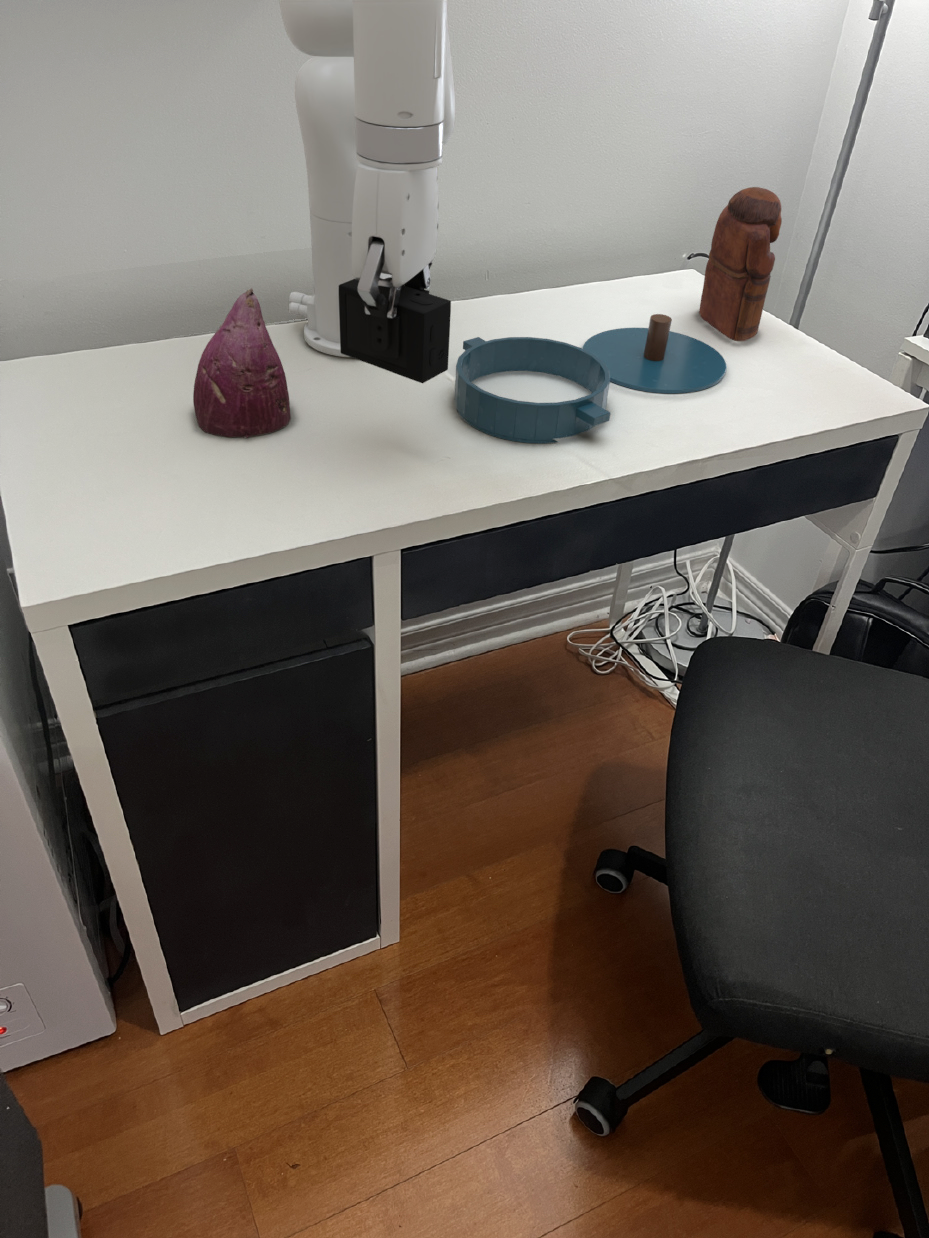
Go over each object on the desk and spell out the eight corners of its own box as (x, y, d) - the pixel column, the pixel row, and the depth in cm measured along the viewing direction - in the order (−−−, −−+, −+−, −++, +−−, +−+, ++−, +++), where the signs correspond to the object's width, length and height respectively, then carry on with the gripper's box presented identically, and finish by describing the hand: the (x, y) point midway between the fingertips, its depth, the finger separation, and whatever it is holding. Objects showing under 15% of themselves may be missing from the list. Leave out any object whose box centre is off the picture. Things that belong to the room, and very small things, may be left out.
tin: (537, 470, 98) (542, 431, 95) (411, 386, 111) (412, 349, 108) (652, 427, 107) (659, 389, 104) (522, 353, 120) (525, 318, 117)
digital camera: (456, 366, 93) (460, 296, 89) (423, 384, 90) (425, 312, 85) (375, 337, 98) (374, 269, 93) (340, 353, 94) (338, 283, 90)
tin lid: (655, 412, 109) (664, 362, 105) (551, 355, 120) (556, 308, 116) (754, 375, 118) (766, 328, 114) (649, 325, 129) (657, 280, 125)
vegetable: (255, 414, 111) (261, 279, 105) (308, 437, 105) (318, 296, 98) (173, 419, 104) (175, 275, 97) (225, 444, 97) (230, 292, 91)
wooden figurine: (771, 343, 126) (809, 201, 115) (729, 347, 124) (764, 204, 113) (725, 309, 135) (757, 174, 123) (686, 312, 133) (714, 176, 121)
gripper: (399, 116, 88) (398, 304, 100) (313, 158, 76) (324, 368, 87) (474, 126, 87) (465, 317, 98) (400, 171, 74) (399, 384, 85)
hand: (398, 339), depth 93 cm, fingers closed on digital camera, 6 cm apart
